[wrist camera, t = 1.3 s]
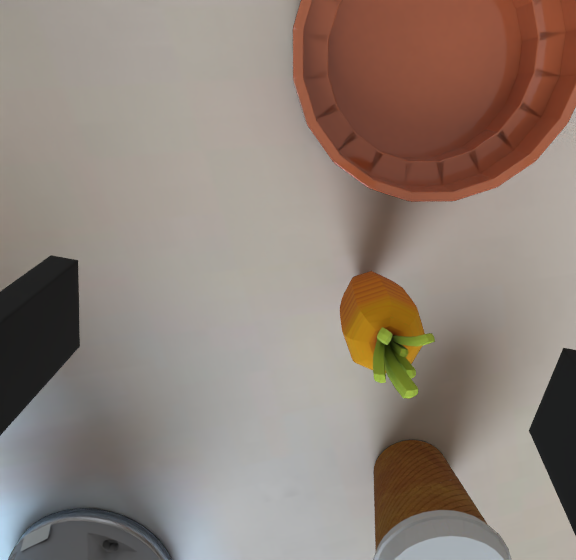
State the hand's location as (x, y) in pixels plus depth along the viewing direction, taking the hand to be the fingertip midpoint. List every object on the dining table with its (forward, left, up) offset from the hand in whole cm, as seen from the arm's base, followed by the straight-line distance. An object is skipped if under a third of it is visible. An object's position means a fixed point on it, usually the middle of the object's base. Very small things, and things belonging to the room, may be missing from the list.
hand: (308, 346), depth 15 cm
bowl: (+6, -11, -26) cm, 29 cm away
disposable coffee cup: (-26, -2, -27) cm, 37 cm away
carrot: (-8, -3, -27) cm, 28 cm away
